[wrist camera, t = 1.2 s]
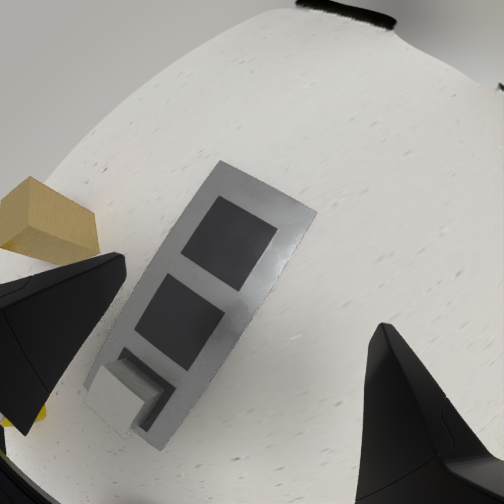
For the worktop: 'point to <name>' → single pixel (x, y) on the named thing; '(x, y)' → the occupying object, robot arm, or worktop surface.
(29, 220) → the tan wooden block
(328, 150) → the worktop surface
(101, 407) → the zinc block
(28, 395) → the robot arm
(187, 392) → the grey slotted plate
